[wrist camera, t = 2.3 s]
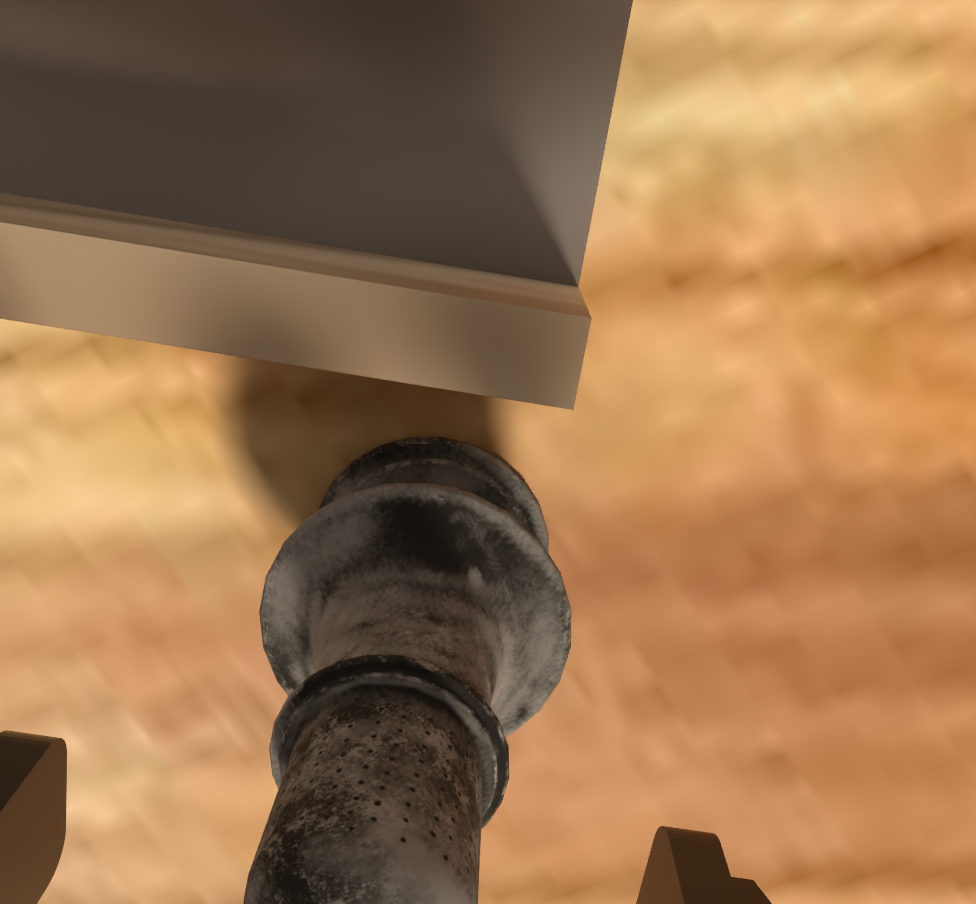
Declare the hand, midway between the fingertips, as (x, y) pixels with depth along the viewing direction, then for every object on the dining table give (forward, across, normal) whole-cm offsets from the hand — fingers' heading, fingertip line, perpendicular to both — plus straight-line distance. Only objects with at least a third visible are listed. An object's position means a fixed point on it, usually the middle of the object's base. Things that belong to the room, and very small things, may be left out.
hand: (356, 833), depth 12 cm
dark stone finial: (+9, 0, 0) cm, 9 cm away
